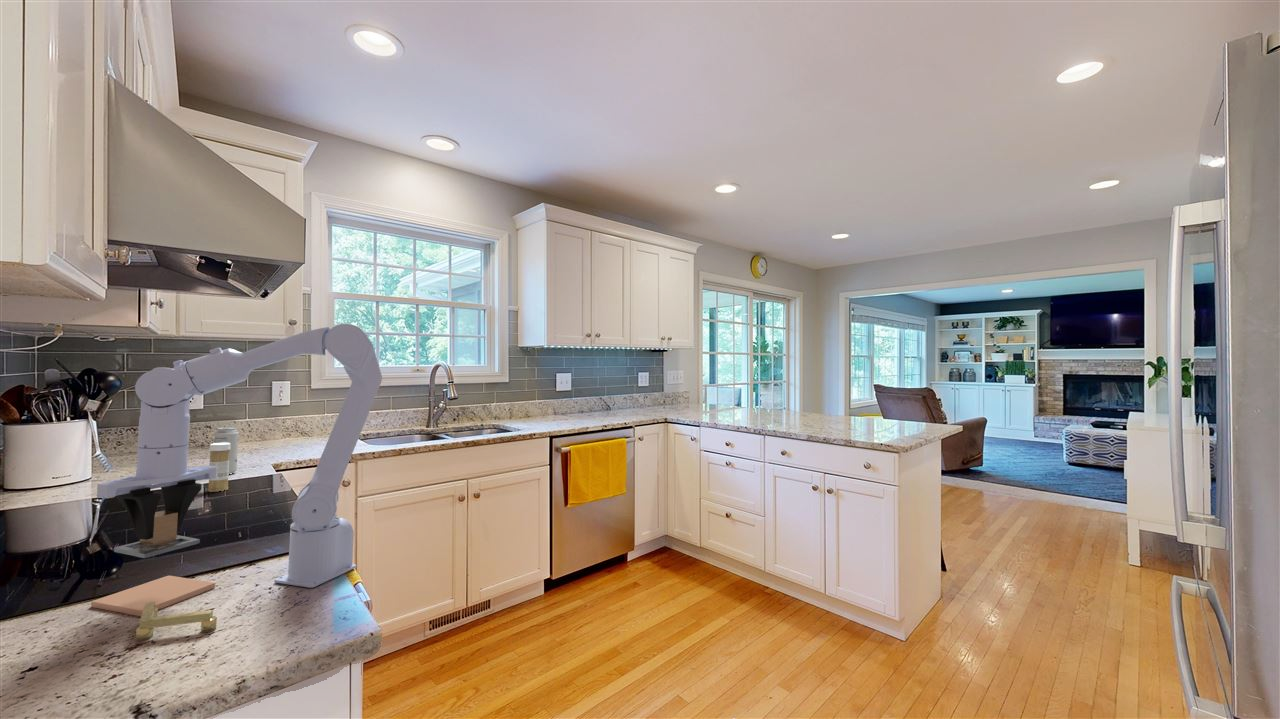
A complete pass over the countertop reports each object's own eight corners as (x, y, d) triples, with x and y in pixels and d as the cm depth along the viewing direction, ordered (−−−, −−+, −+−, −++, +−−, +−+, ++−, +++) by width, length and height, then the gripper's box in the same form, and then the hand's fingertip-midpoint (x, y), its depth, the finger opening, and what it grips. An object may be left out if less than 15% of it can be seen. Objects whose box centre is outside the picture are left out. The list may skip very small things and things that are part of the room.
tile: (168, 580, 84) (168, 575, 84) (214, 587, 81) (215, 582, 82) (91, 606, 74) (91, 601, 74) (141, 616, 72) (141, 610, 72)
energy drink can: (240, 473, 166) (242, 428, 166) (219, 476, 160) (221, 429, 160) (229, 471, 168) (232, 426, 168) (208, 474, 163) (211, 428, 163)
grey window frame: (170, 537, 81) (171, 505, 82) (199, 543, 79) (201, 510, 79) (113, 551, 75) (115, 517, 75) (144, 558, 73) (146, 522, 73)
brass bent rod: (154, 615, 72) (155, 598, 72) (219, 627, 69) (220, 610, 69) (105, 634, 67) (107, 616, 67) (174, 648, 64) (175, 629, 64)
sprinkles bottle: (226, 488, 146) (229, 441, 147) (229, 490, 143) (232, 443, 143) (206, 490, 143) (208, 442, 143) (208, 493, 140) (211, 444, 140)
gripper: (194, 438, 85) (190, 519, 85) (83, 450, 71) (77, 547, 71) (227, 441, 84) (223, 523, 83) (120, 454, 70) (114, 552, 69)
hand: (158, 534), depth 77 cm, fingers closed on grey window frame, 3 cm apart
